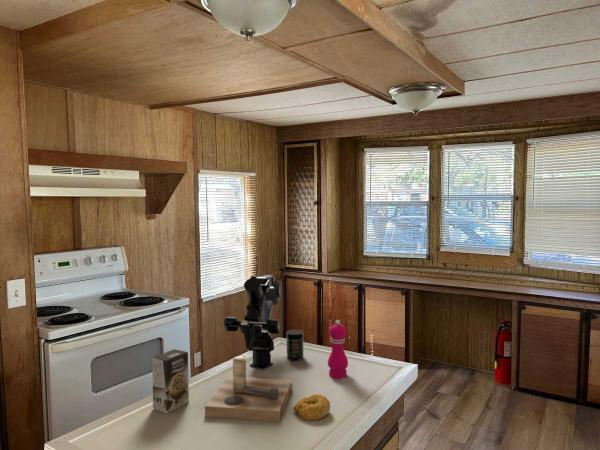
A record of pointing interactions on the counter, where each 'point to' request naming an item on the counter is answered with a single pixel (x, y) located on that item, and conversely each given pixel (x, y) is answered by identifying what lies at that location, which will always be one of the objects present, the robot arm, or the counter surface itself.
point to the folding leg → (240, 380)
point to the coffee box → (170, 380)
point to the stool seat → (249, 400)
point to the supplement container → (294, 344)
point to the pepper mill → (337, 351)
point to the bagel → (312, 407)
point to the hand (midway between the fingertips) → (247, 348)
